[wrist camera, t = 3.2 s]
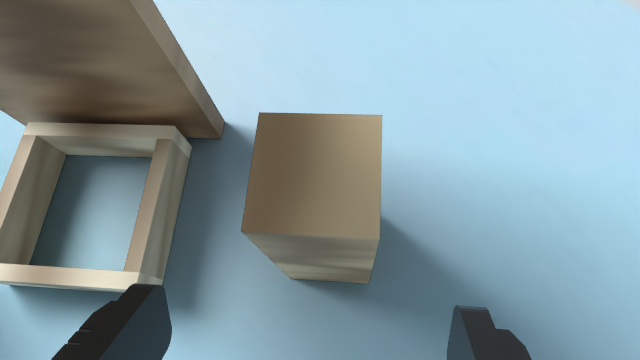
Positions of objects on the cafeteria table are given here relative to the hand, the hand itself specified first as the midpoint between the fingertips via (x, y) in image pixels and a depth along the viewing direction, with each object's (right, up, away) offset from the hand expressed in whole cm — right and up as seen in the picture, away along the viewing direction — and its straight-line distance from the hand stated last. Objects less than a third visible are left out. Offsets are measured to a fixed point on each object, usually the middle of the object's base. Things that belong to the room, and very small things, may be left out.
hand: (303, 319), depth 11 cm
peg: (+1, +1, +10) cm, 10 cm away
